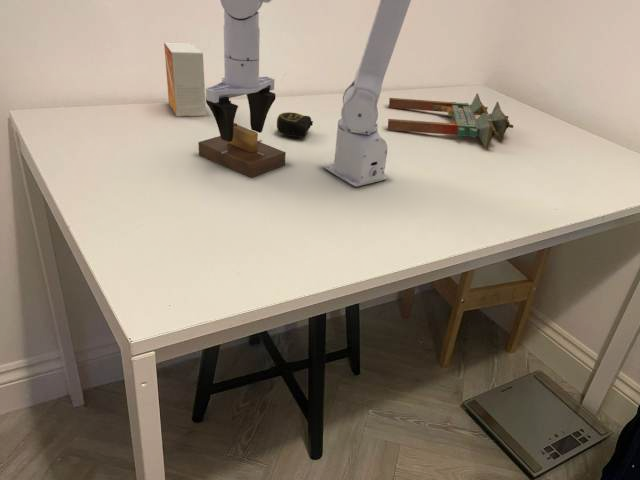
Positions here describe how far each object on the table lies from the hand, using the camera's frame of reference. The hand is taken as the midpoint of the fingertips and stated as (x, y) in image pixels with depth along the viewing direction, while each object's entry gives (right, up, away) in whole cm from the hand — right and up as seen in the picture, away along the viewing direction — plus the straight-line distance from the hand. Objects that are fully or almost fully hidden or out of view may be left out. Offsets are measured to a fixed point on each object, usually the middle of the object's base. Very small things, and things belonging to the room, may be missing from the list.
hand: (242, 135), depth 101 cm
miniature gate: (+41, +12, +37) cm, 57 cm away
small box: (-17, +11, +21) cm, 29 cm away
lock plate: (-1, -4, +3) cm, 5 cm away
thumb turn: (0, -2, +1) cm, 2 cm away
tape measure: (+7, +5, +18) cm, 20 cm away
